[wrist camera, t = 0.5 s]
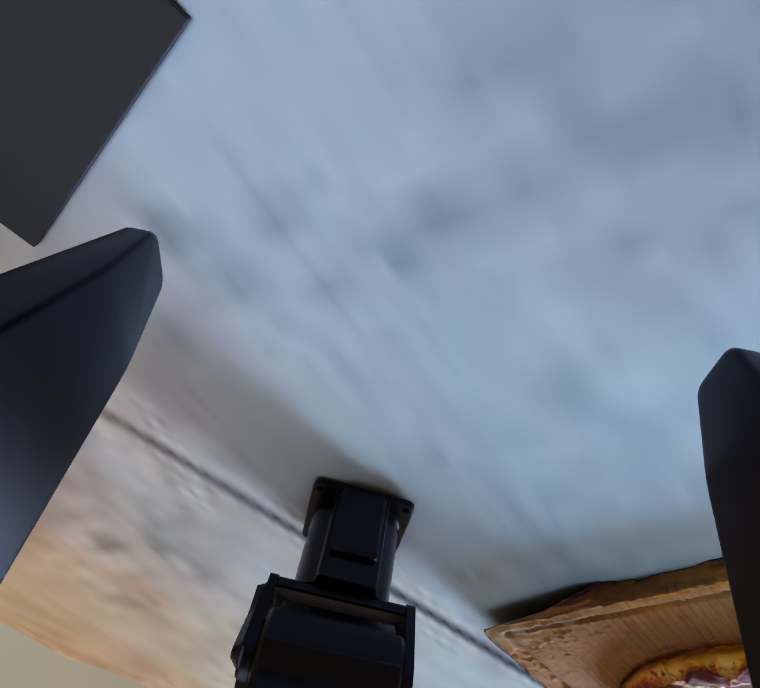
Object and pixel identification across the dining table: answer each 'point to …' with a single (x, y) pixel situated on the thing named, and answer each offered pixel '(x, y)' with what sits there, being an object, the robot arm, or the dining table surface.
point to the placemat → (69, 93)
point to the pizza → (635, 635)
